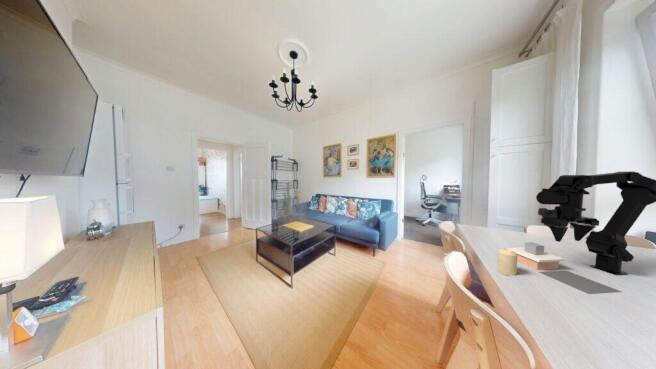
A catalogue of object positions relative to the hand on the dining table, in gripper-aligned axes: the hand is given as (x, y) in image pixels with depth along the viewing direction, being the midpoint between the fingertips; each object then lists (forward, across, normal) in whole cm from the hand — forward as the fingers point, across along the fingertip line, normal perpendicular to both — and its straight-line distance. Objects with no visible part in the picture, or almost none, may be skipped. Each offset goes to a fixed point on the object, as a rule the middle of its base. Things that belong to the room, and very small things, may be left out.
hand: (567, 241), depth 74 cm
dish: (+12, +10, -4) cm, 16 cm away
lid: (+7, +10, -4) cm, 13 cm away
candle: (+12, +29, +1) cm, 31 cm away
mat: (+12, +10, +9) cm, 18 cm away
